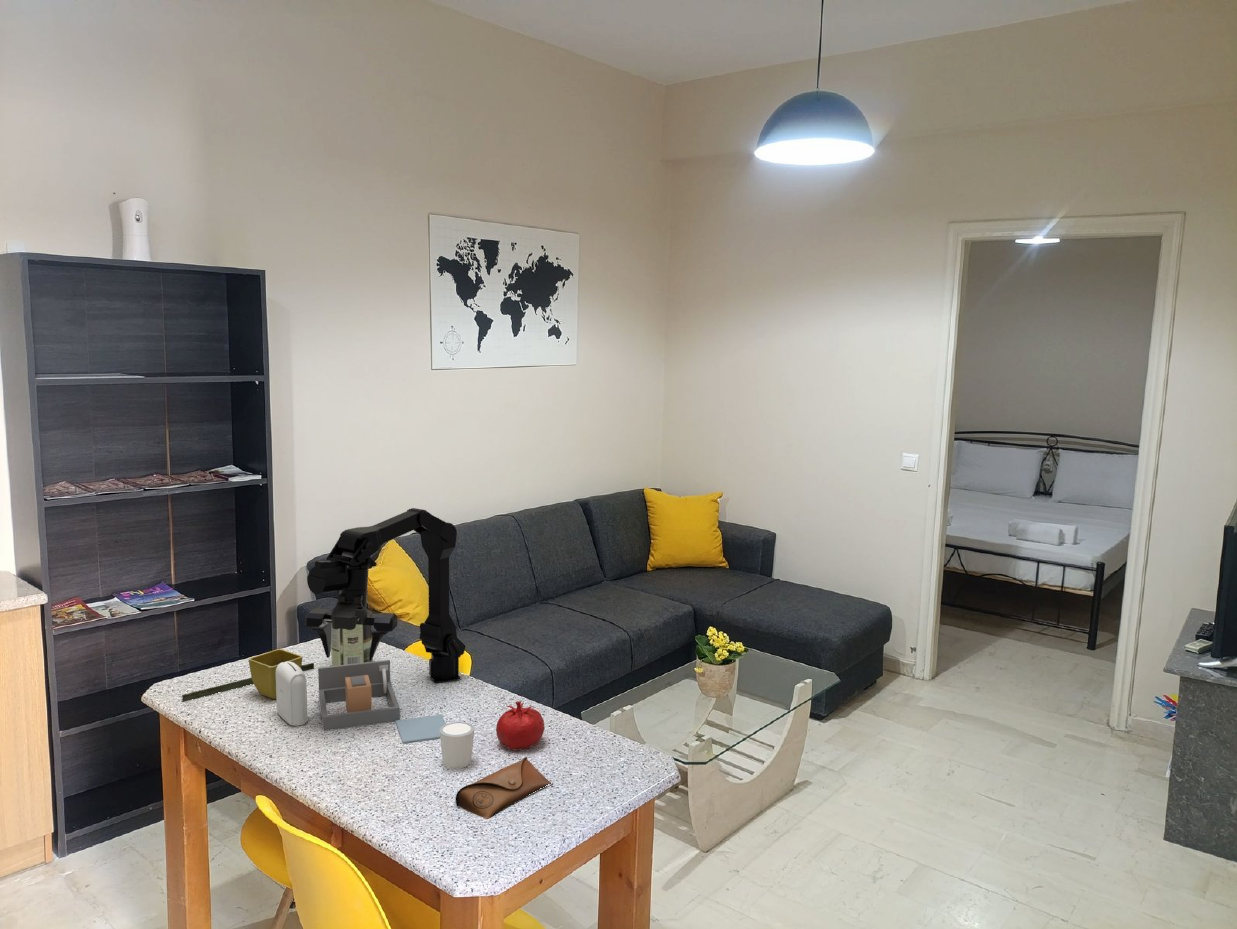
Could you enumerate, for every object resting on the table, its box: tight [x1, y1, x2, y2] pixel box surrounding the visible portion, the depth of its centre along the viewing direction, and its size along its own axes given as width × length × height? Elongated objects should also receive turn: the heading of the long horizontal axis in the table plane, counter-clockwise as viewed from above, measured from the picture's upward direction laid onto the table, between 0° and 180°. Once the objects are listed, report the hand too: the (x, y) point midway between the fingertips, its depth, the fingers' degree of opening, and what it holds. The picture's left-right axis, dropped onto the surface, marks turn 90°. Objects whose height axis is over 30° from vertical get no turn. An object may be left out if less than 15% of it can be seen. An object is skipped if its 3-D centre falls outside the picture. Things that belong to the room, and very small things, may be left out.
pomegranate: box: [495, 701, 545, 751], centre depth 184 cm, size 10×10×9 cm
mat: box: [395, 713, 447, 744], centre depth 190 cm, size 10×11×1 cm
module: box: [345, 675, 373, 713], centre depth 198 cm, size 5×7×7 cm
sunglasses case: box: [455, 756, 552, 820], centre depth 164 cm, size 18×7×7 cm, turn 142°
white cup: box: [439, 721, 475, 770], centre depth 175 cm, size 7×7×7 cm
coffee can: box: [330, 609, 374, 666], centre depth 223 cm, size 10×10×14 cm
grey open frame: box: [317, 659, 401, 732], centre depth 198 cm, size 16×17×8 cm
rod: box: [181, 662, 315, 703], centre depth 212 cm, size 31×1×2 cm, turn 134°
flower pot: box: [247, 648, 303, 700], centre depth 206 cm, size 9×9×9 cm
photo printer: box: [276, 661, 309, 727], centre depth 193 cm, size 10×4×12 cm, turn 39°
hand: (349, 658), depth 193 cm, fingers open, 9 cm apart
